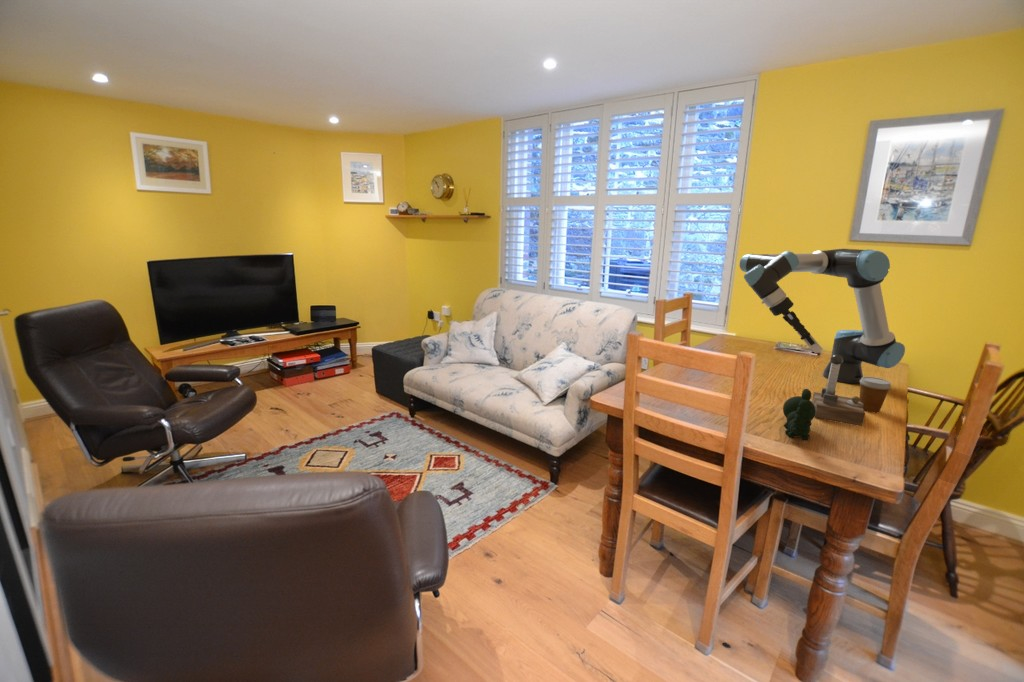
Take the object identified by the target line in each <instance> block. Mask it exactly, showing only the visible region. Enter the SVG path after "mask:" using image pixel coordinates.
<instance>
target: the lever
mask: <svg viewBox="0 0 1024 682" xmlns="http://www.w3.org/2000/svg"><path fill="white" fill-rule="evenodd" d="M830 361H831V367H830V372H829V377H828V378H827V382H826V387H825V388H826V392H825V393H826V394H832V395H834V392H835V391H836V387H837V382H838V381H837V378H838V373H839V369H840V364H841V363H842V362H843V358H842V357H841V356H840V355H833V356H832V357H831V356H830V360H829V362H830ZM835 393H836V392H835Z"/></svg>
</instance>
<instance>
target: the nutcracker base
mask: <svg viewBox="0 0 1024 682" xmlns="http://www.w3.org/2000/svg"><path fill="white" fill-rule="evenodd" d="M825 392H826V387H822V388H821V392H817V391H814V392H813V395H812V398H811V399H812V401H811V402H812V403H813V404H814V406H815V409H816V413H815V416H814V418H815V419H820V420H824V419H825V421H830V420H831V422H835V421H836V422H837V423H841V422H842V423H841V424H846V423H847V424H846V425H851V424H852V426H857V425H858V426H857V427H863V424H864V421H865V417H866V411H864V410H863V408H862V407H863V405H864V404H863V403H861V402H859V401H860V396H857V395H855V396H853V397H848V396H841V395H836V392H837V390H835V392H834V395H832V394H826V393H825Z"/></svg>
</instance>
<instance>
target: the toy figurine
mask: <svg viewBox="0 0 1024 682" xmlns="http://www.w3.org/2000/svg"><path fill="white" fill-rule="evenodd" d="M811 399H812V392H811V389H808V388H805V389H802V393H801V395H796V396H795V395H794V396H792V397H789V398H787V400H785V401H784V404H783V407H782V411H783V415H784V417H785V418H786V422H785V423H784V424H783V425H784V426H783V427H784V428H785V429H786V430H785V431H784V434H785V435H787V437H788V438H790V439H794V438H795V437H796V438H801V440H802V441H803V442H807V441H809V440H810V432H811V426H812V425H813V424H812V421H813V419H814V418H815V417H814V416H815V413H816V409H815V406H814V404H813V403H812V401H811Z"/></svg>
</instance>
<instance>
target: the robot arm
mask: <svg viewBox="0 0 1024 682" xmlns="http://www.w3.org/2000/svg"><path fill="white" fill-rule="evenodd" d="M890 263H891V261H890V259H889V257H888V256H887V254H886V253H884V252H883V251H880V250H876V249H875V250H874V249H855V248H837V249H827V250H826V249H825V250H816V251H813V252H811V253H809V252H808V253H794V252H793V251H790V250H785V251H783V252H782V253H767V254H763V253H762V254H756V253H755V254H754V253H748V254H744V255H743V256H742V257H741V258H740V260H739V264H738V265H739V269H740V270H741V271H742V272H745V273H744V275H743V278H744V280H745V282H746V283H747V285H748V286H749V287H750V288H751V290H752V291H753V292H754V293H755V294H756V295H757V296H758V297H759V298H760V302H761V304H762V305H763V304H765V306H766V307H767V308H769V311H770V312H771V314H772V315H773V316H774V317H778V316H780V315H783V316H782V319H783V320H784V321H785V322H787V323H788V324H789V326H790V327H793V330H794V331H795V332H796V333H797V334H798V335H799V337H800V340H801V341H803V342H804V343H805V344H806V345H807V347H809V348H810V349H811V350H812V352H814V354H818V353H819V352H822V351H823V348H822V347H821V345H820V344H819V343H818V341H817V340H816V339H815V338H814V337H813V335H812V334H811V333H810V332H809V331H808V330H807V328H806V327H805V325H804V324H802V323H801V320H800V319H799V317H798V316H797V314H796V313H795V312H794V311H793V310H790V309H791V308H793V306H794V302H793V301H792V300H791V299H790V296H787V294H786V292H785V291H784V290H783V289H782V288H781V286H780V285H779V284H778V282H779V281H781V280H782V279H783V278H785V277H787V276H788V275H789V274H790V273H804V272H805V273H807V272H810V273H812V274H814V275H826V276H827V275H828V276H832V277H836V278H837V277H838V278H843V279H846V281H847V285H848V287H849V288H851V289H853V290H854V291H853V292H854V297H855V301H856V305H857V310H858V314H859V320H860V324H861V325H860V326H861V330H859V329H840V330H838V331H836V333H835V336H834V338H833V339H834V340H833V344H832V345H833V346H832V350H831V354H830V355H831V356H830V358H831V357H832V356H833V355H840V356H841V357H842V358H843V362H842V363H841V364H840V369H839V373H838V378H837V382H839V383H846V384H860V380H861V378H862V377H864V373H863V369H862V364H863V363H866V364H869V365H873V366H876V367H879V368H880V367H881V368H883V369H885V368H886V369H890V368H894V367H895V366H897V365H899V363H900V362H901V361H902V359H903V358H904V356H905V352H906V346H905V345H904V344H903V343H902V342H899V341H898V342H897V340H896V336H895V334H894V333H893V332H892V331H890V329H889V328H890V327H889V324H888V317H887V313H886V307H885V303H884V296H883V292H882V291H883V290H882V287H881V286H882V285H881V283H882V282H884V280H885V278H886V277H887V276H888V274H889V269H890V268H891V267H890V266H891V264H890ZM830 367H831V361H830V360H829V362H828V363H827V364H826V366H825V368H824V369H823V373H822V376H823V377H824V378H826V379H828V377H829V372H830Z"/></svg>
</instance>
